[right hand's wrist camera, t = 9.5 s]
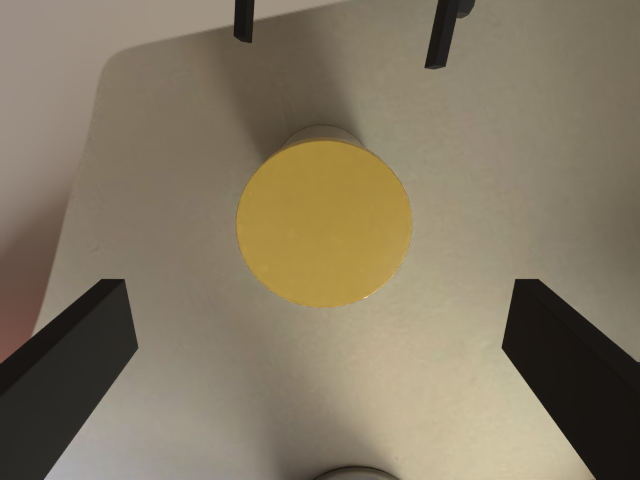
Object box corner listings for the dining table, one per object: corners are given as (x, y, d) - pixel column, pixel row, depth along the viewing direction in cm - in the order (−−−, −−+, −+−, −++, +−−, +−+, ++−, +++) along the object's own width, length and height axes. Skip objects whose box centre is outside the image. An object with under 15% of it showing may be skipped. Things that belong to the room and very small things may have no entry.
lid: (306, 318, 25) (305, 335, 23) (208, 202, 22) (198, 211, 20) (434, 237, 23) (444, 249, 21) (344, 99, 20) (347, 100, 18)
